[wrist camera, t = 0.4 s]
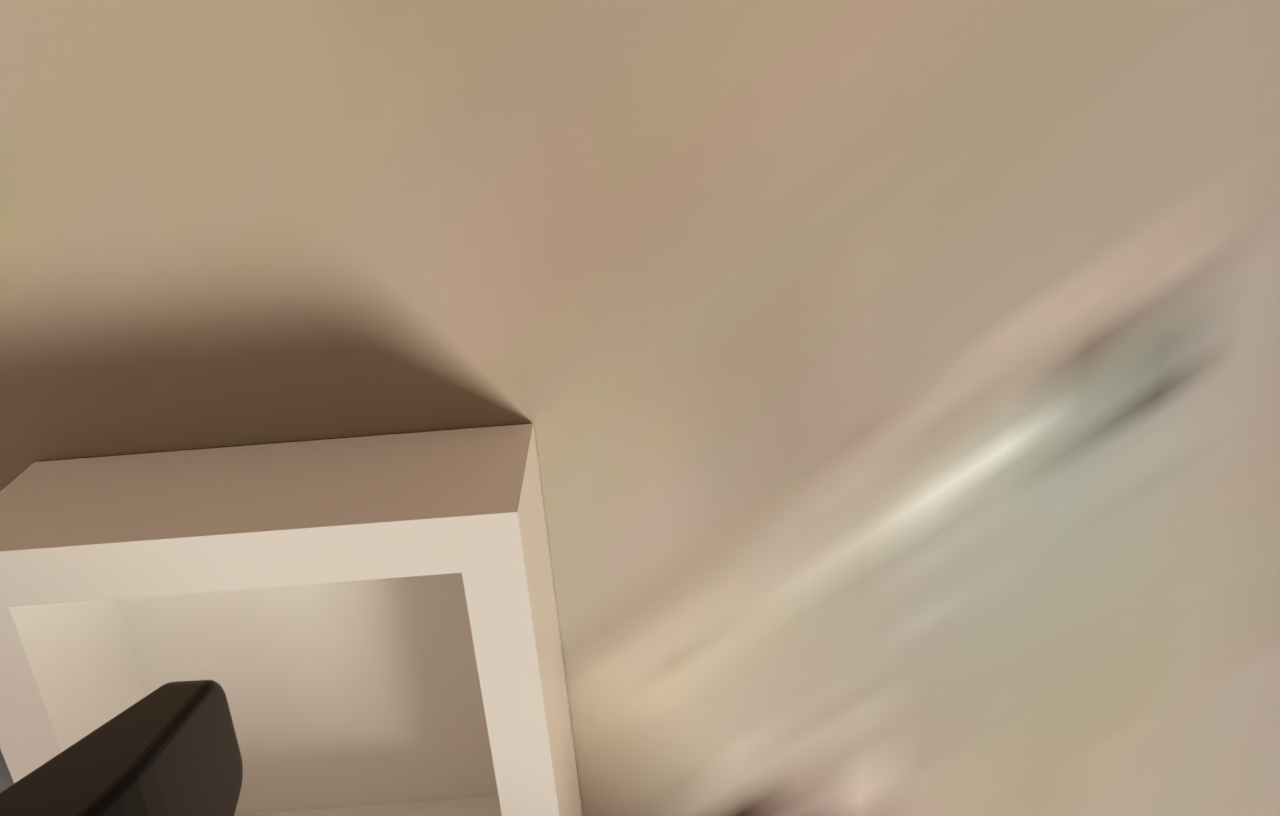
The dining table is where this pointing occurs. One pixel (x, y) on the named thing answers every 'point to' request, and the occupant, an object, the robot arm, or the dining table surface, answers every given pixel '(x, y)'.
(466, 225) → the dining table surface
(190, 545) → the stoneware dish
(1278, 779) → the dining table surface
